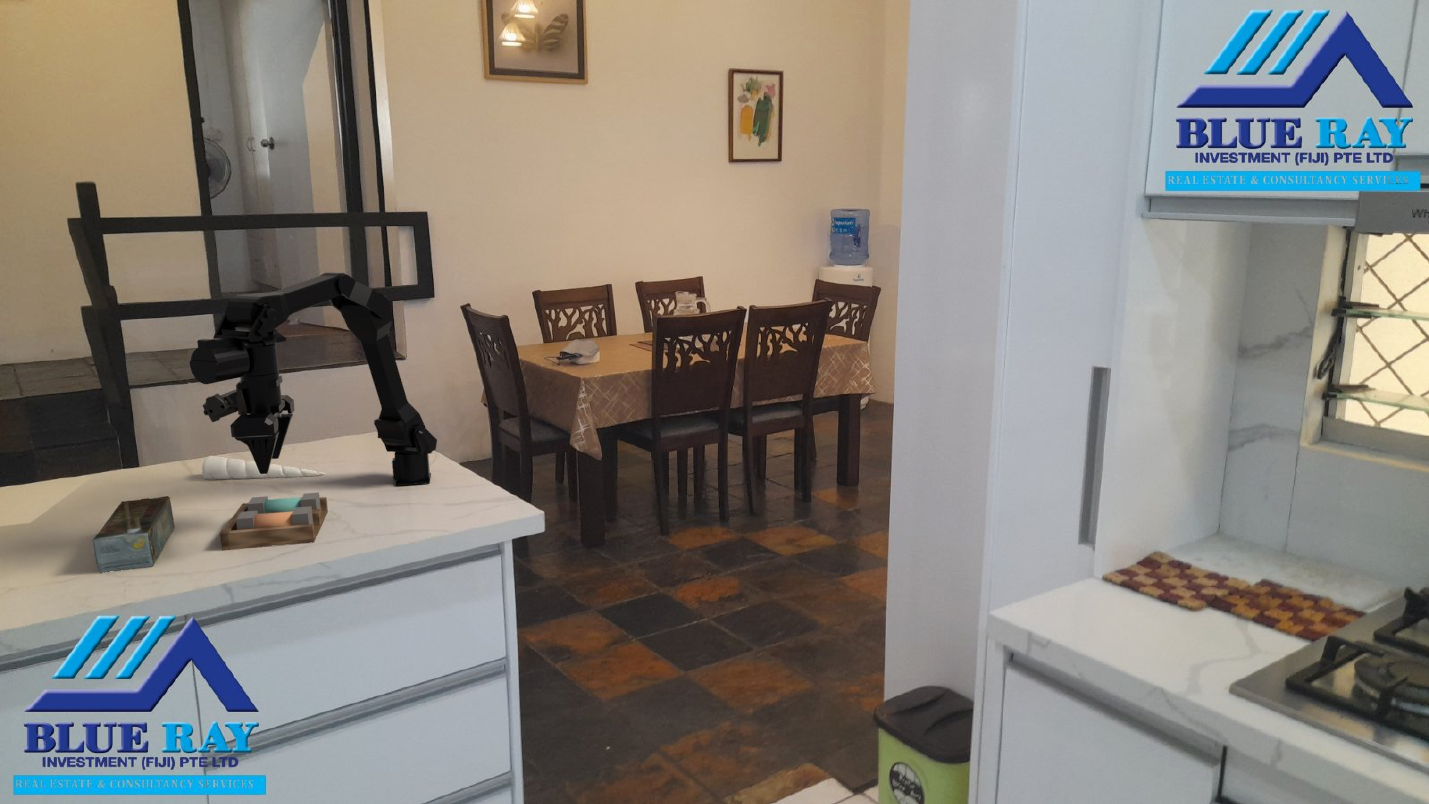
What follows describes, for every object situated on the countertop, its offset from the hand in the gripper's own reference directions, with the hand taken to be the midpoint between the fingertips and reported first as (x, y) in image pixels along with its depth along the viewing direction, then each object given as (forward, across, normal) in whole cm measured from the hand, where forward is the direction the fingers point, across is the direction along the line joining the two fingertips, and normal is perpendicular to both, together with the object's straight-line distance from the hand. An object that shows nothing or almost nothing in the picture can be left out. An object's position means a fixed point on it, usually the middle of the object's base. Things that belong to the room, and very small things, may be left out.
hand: (269, 466), depth 158 cm
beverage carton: (+13, 0, -21) cm, 25 cm away
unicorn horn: (+13, -40, -10) cm, 43 cm away
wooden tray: (+12, -4, -1) cm, 13 cm away
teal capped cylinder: (+12, -8, 0) cm, 14 cm away
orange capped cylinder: (+12, 0, 0) cm, 12 cm away
